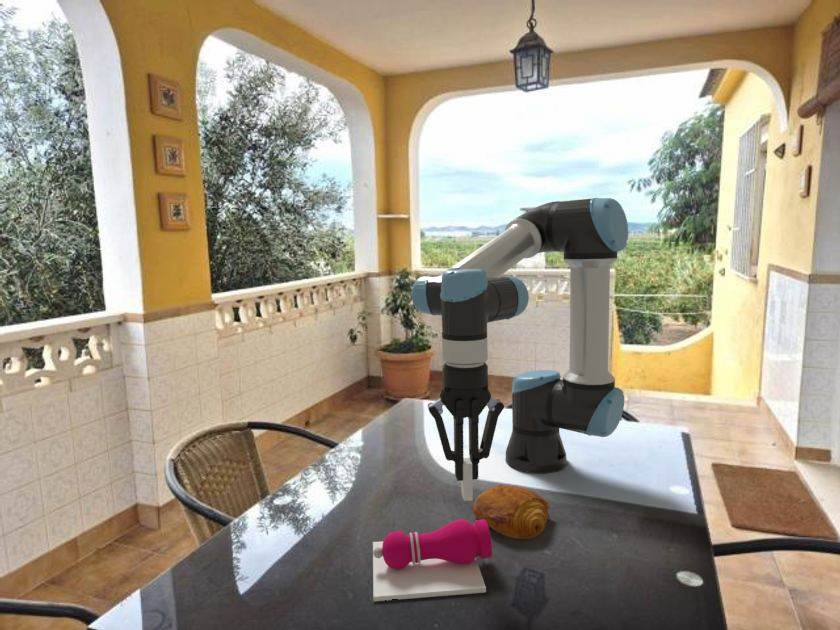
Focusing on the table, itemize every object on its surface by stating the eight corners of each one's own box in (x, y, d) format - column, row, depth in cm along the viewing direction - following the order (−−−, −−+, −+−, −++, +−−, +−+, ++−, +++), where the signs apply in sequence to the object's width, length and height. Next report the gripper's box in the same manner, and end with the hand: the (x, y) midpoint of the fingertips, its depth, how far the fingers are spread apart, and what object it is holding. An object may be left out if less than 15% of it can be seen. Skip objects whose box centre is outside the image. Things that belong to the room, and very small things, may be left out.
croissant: (509, 560, 100) (512, 522, 98) (460, 514, 113) (462, 480, 111) (566, 535, 107) (570, 500, 105) (514, 495, 120) (516, 462, 118)
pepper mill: (484, 544, 99) (374, 559, 97) (482, 508, 98) (370, 522, 96) (494, 569, 92) (375, 586, 90) (491, 530, 90) (371, 546, 89)
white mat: (468, 539, 103) (468, 535, 103) (486, 592, 87) (485, 587, 87) (373, 546, 102) (372, 542, 101) (373, 601, 86) (373, 596, 86)
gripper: (498, 356, 95) (499, 485, 98) (423, 359, 94) (427, 489, 97) (509, 365, 87) (509, 504, 90) (428, 369, 86) (431, 510, 89)
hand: (466, 496), depth 93 cm, fingers closed
